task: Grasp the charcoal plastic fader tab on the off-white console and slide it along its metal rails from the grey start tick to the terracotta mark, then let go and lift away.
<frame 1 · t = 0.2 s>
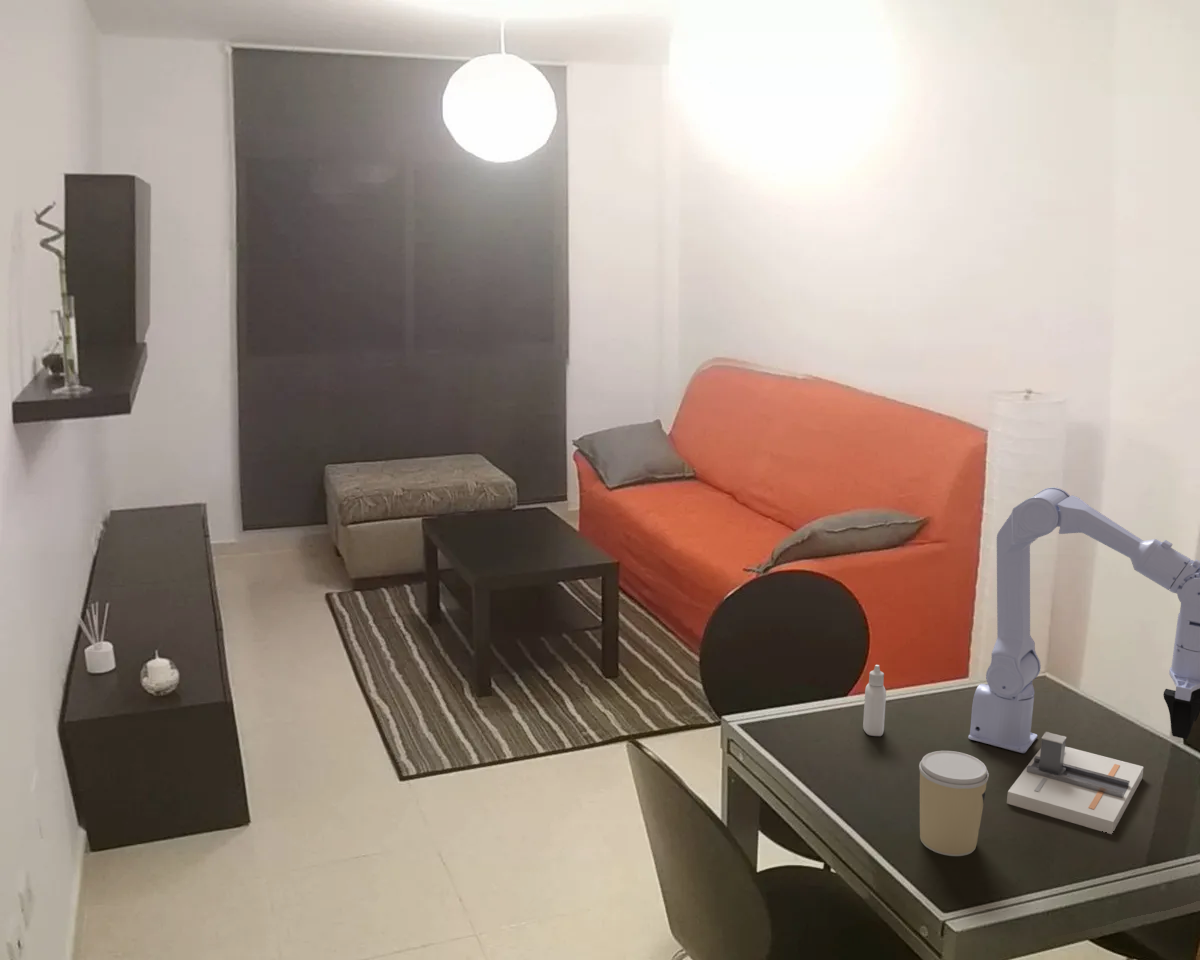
hand: (1184, 727, 174), 10 cm above the table, tool pointing down, fingers open, 7 cm apart
fader tab: (1049, 783, 177), resting on console, slide at 0.0 cm
eye dropper bottle: (873, 731, 196), on the table
coffee cup: (947, 842, 161), on the table
console: (1076, 790, 175), on the table
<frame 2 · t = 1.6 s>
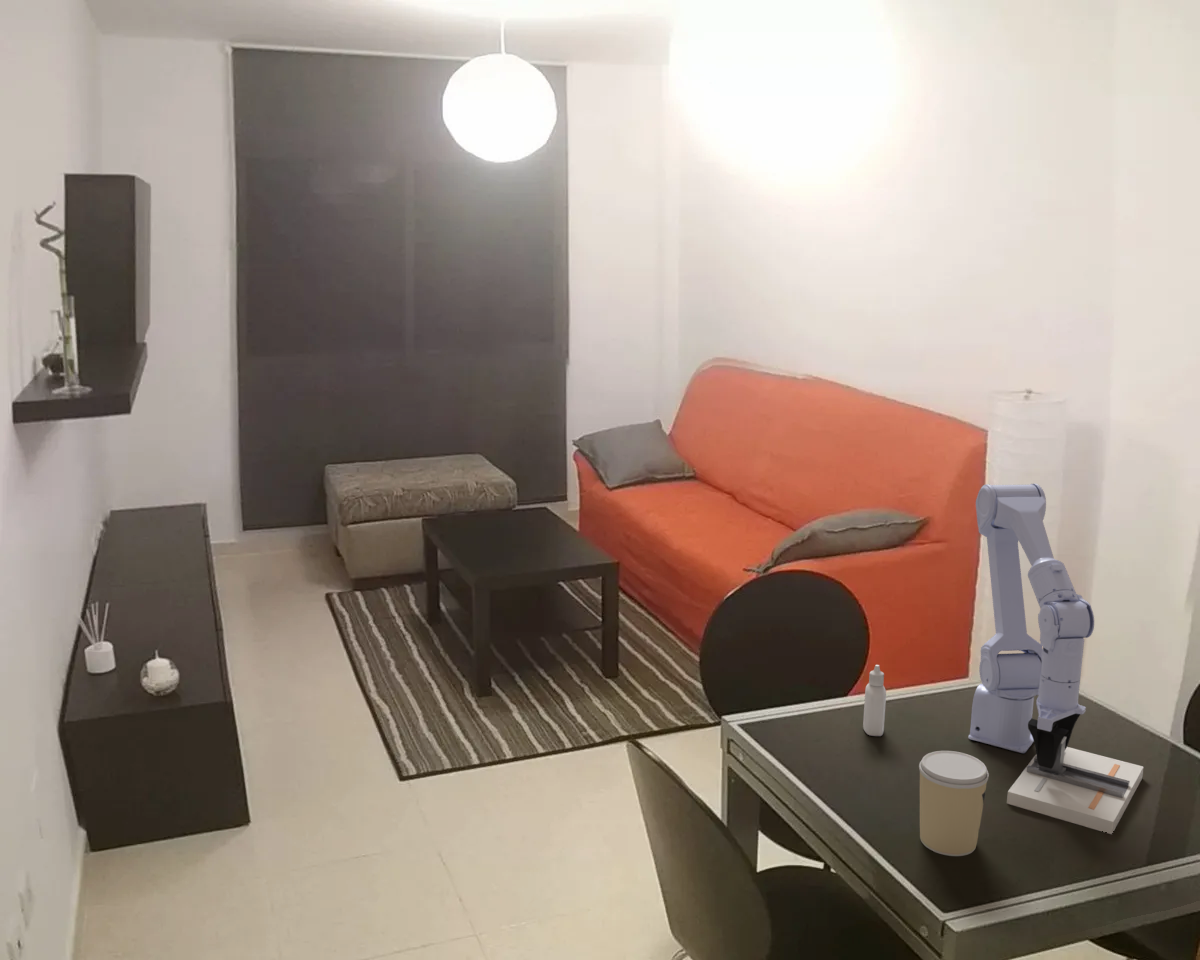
hand: (1052, 757, 176), 5 cm above the table, tool pointing down, fingers open, 7 cm apart
nothing on the table moved.
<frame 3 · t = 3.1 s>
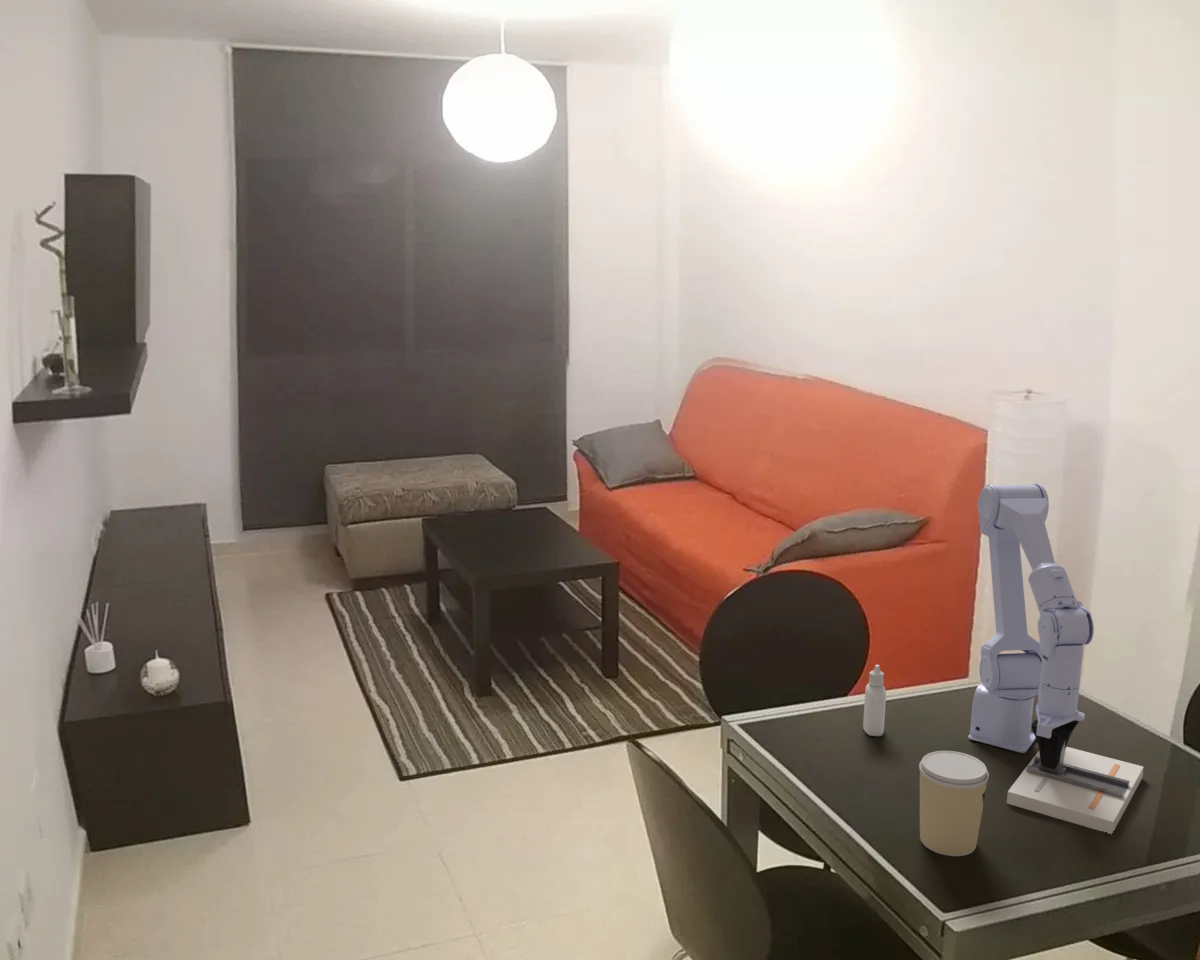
hand: (1051, 763, 177), 3 cm above the table, tool pointing down, fingers closed on fader tab, 2 cm apart
fader tab: (1049, 783, 177), resting on console, slide at 0.0 cm, touching gripper
everything else where it was.
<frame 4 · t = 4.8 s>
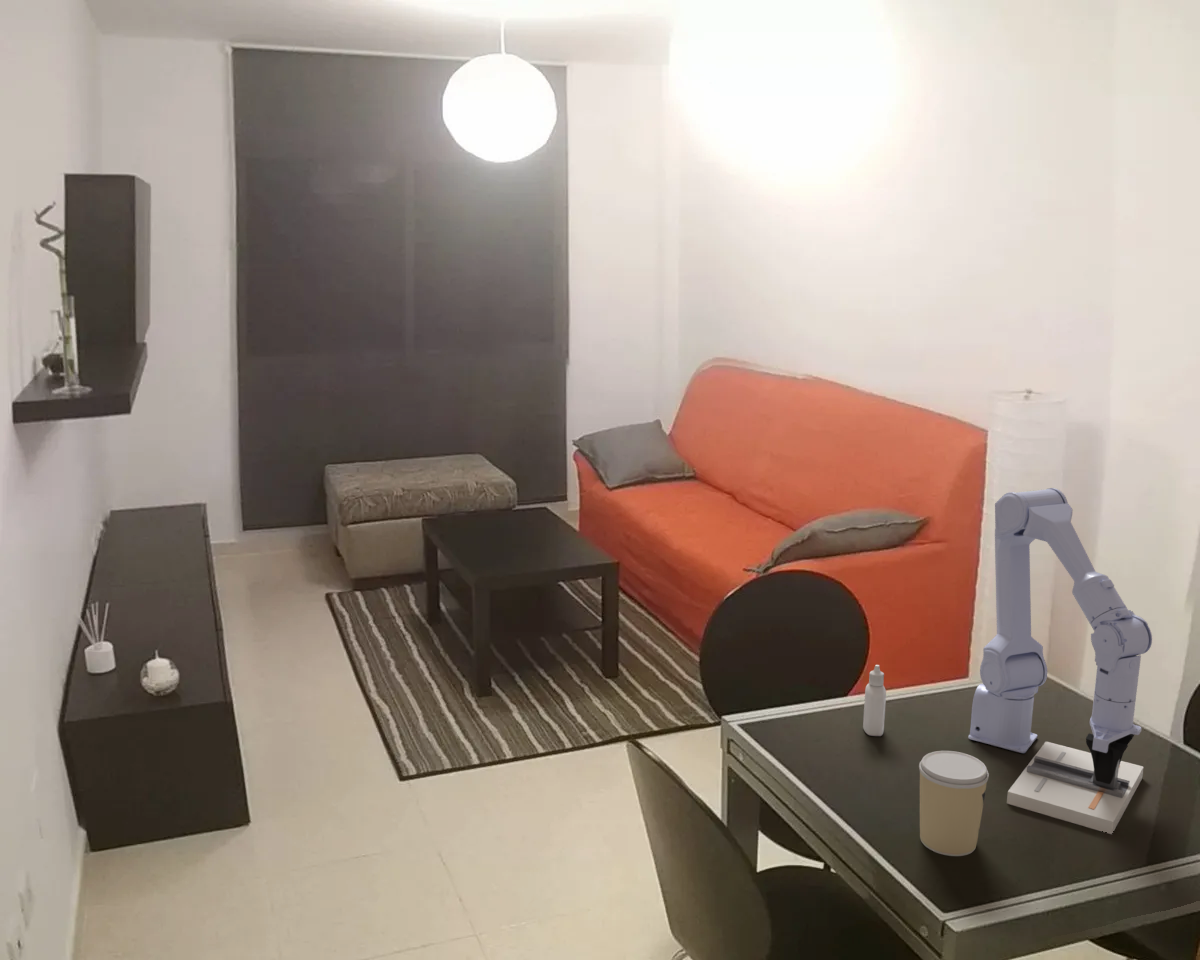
hand: (1105, 777, 172), 3 cm above the table, tool pointing down, fingers closed on fader tab, 2 cm apart
fader tab: (1103, 798, 173), resting on console, slide at 8.0 cm, touching gripper
everything else where it was.
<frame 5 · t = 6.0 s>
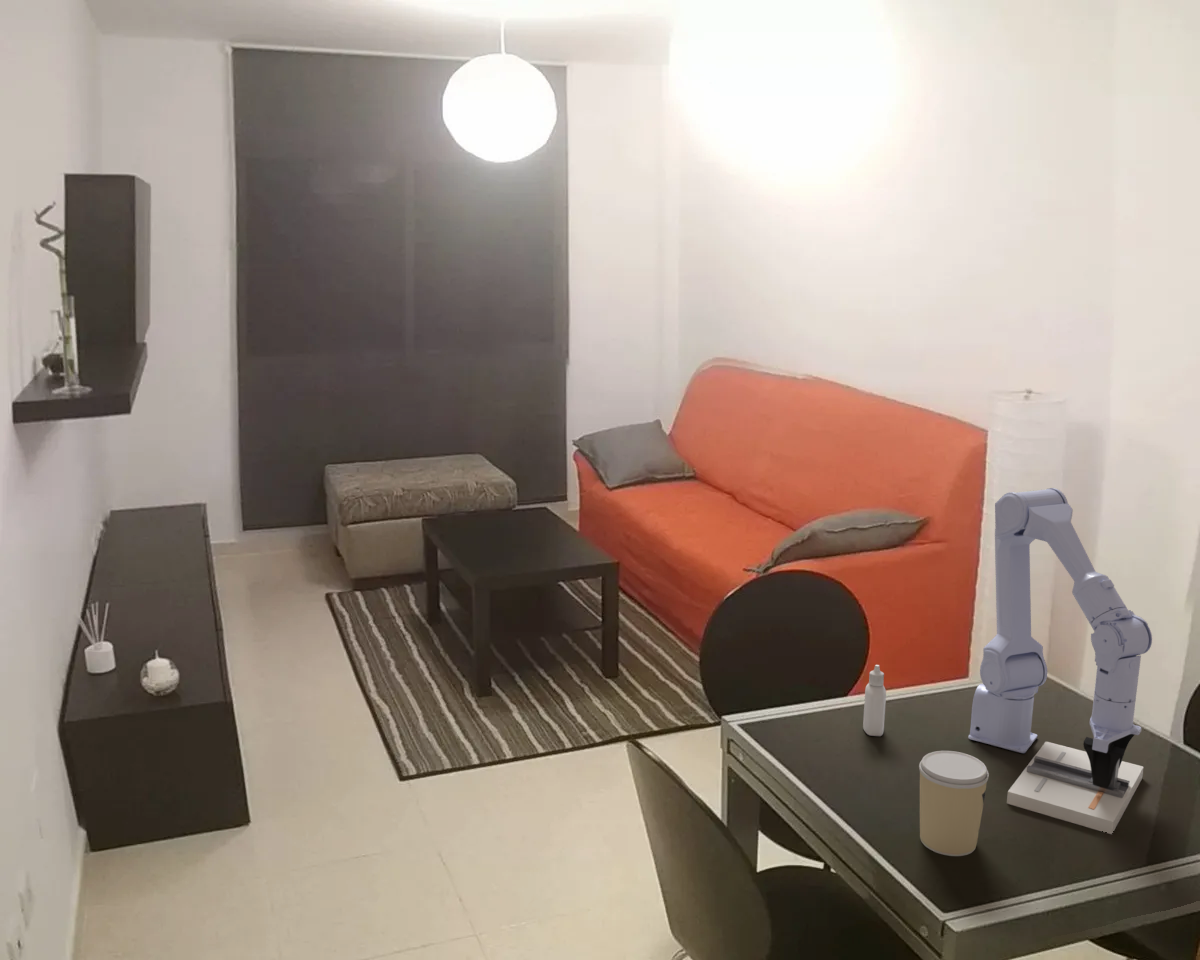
hand: (1105, 777, 172), 3 cm above the table, tool pointing down, fingers open, 5 cm apart
fader tab: (1103, 798, 173), resting on console, slide at 8.0 cm
everything else where it was.
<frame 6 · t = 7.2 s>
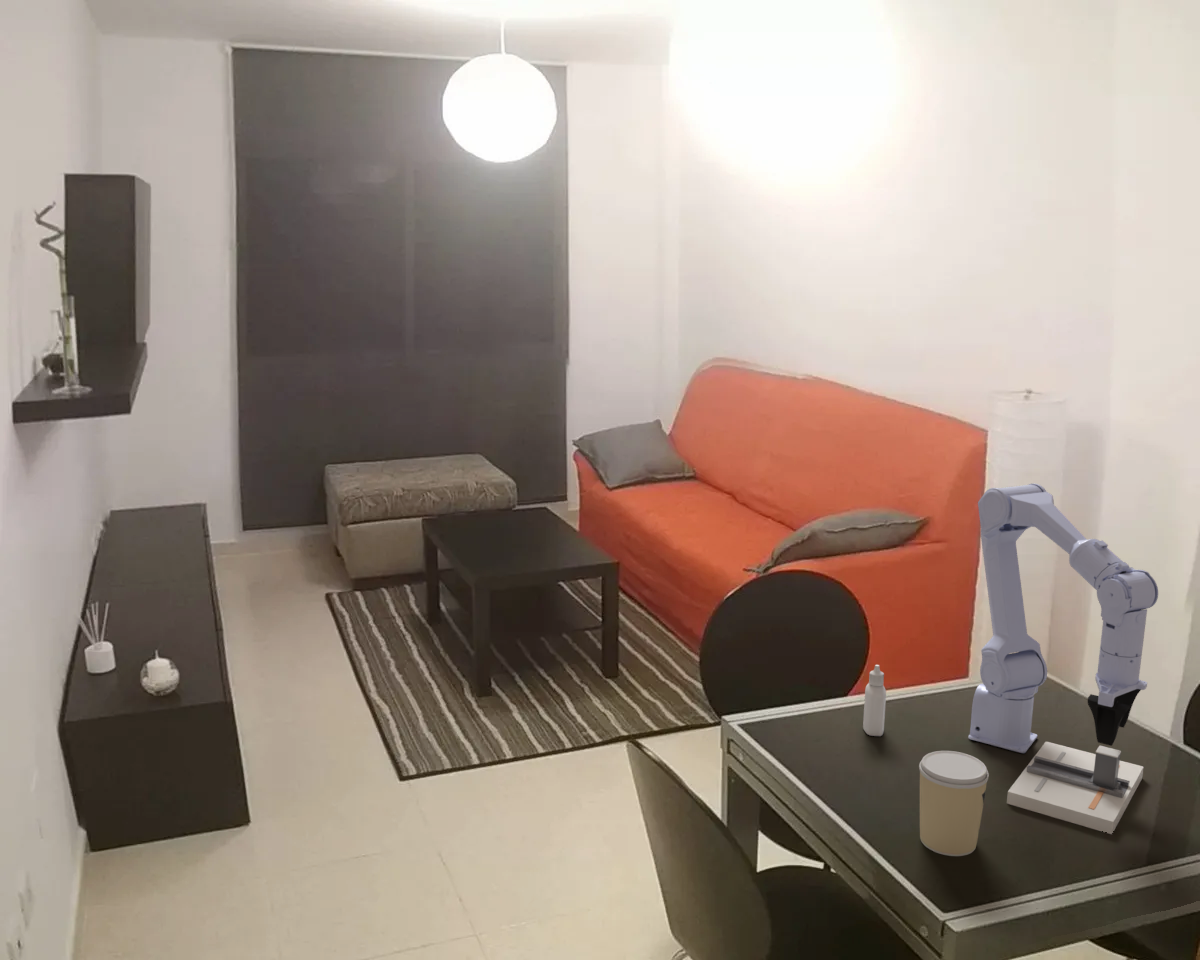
hand: (1111, 734, 171), 10 cm above the table, tool pointing down, fingers open, 7 cm apart
nothing on the table moved.
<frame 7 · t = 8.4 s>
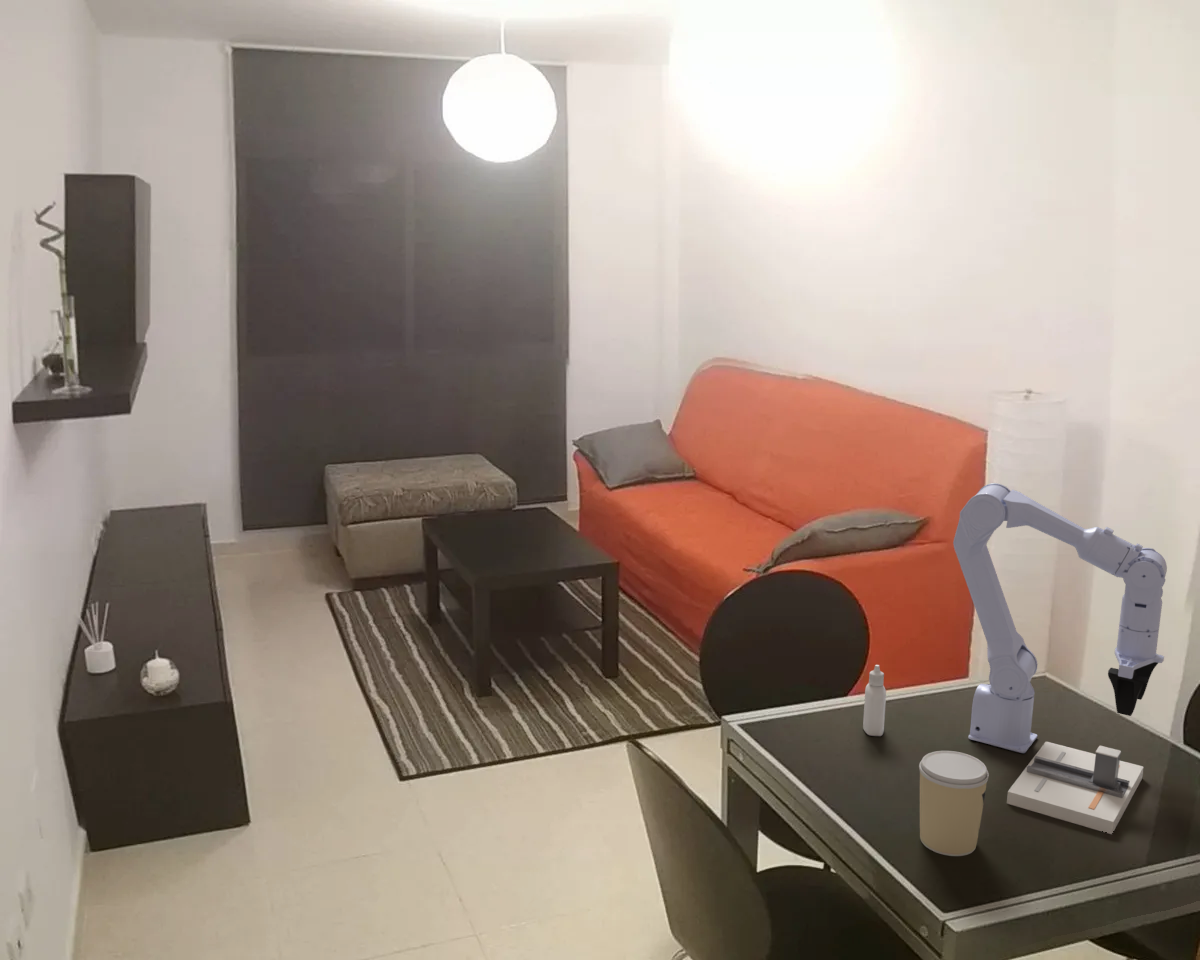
hand: (1129, 705, 181), 10 cm above the table, tool pointing down, fingers open, 7 cm apart
nothing on the table moved.
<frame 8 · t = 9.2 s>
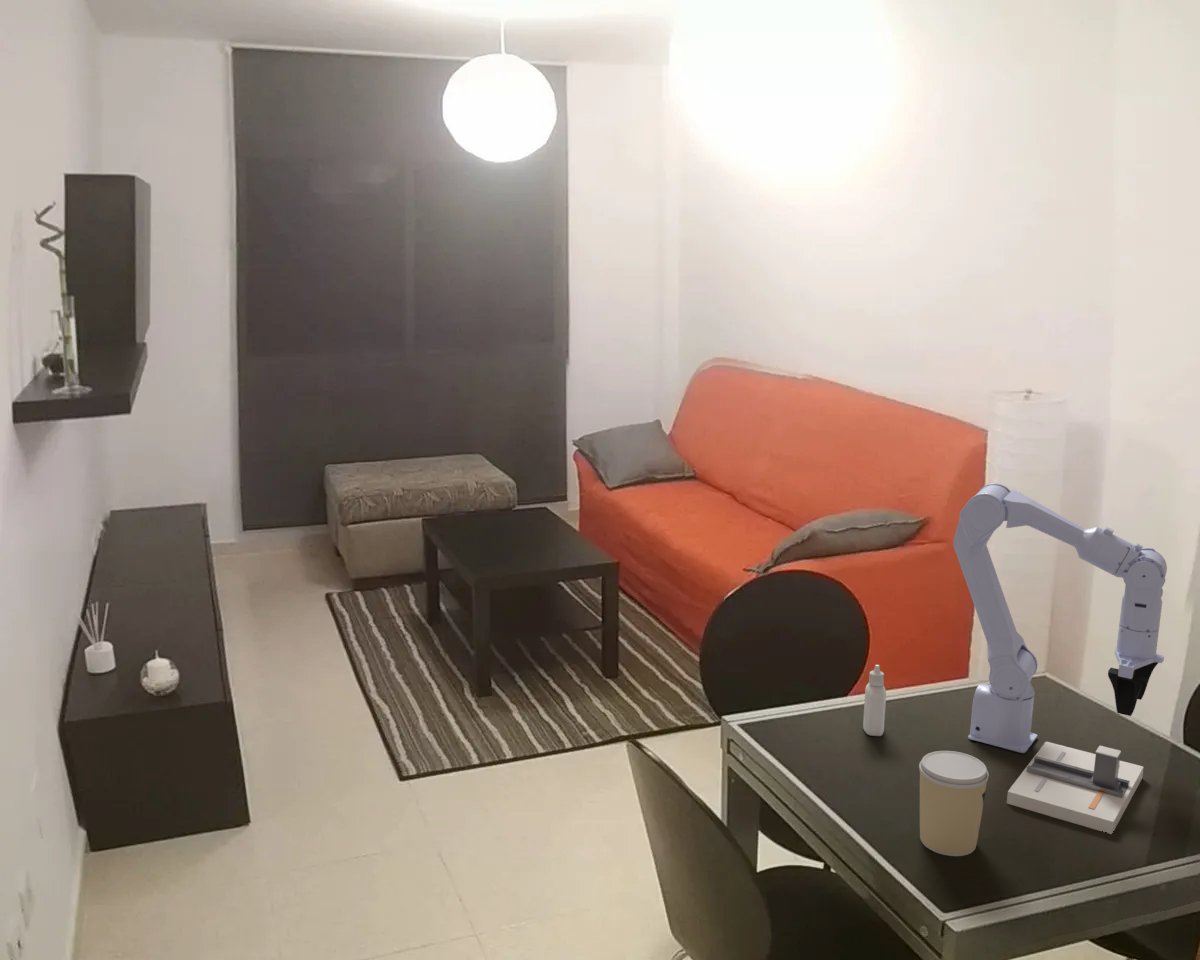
hand: (1129, 705, 181), 10 cm above the table, tool pointing down, fingers open, 7 cm apart
nothing on the table moved.
at the end: fader tab slide at 8.0 cm; the gripper is holding nothing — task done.
